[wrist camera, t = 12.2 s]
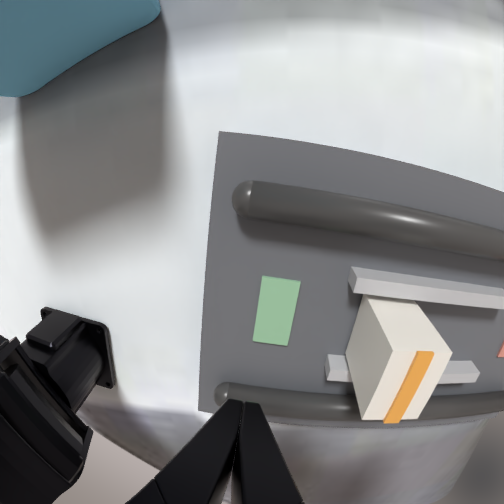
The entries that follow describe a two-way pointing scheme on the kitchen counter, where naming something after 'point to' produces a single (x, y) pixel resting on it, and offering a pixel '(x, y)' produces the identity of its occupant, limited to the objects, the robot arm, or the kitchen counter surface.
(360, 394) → the knob
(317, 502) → the kitchen counter surface
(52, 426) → the robot arm
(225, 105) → the kitchen counter surface
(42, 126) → the kitchen counter surface
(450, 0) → the kitchen counter surface
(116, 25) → the data package
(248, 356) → the panel
